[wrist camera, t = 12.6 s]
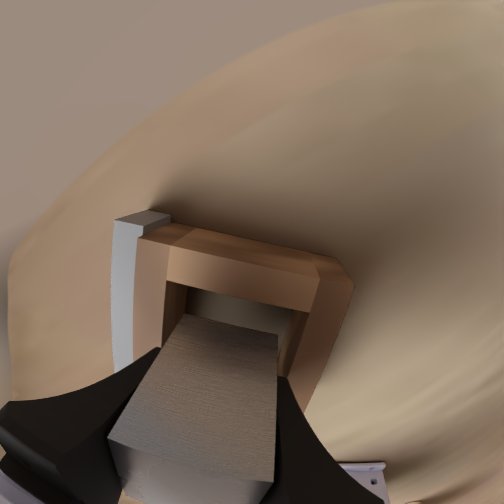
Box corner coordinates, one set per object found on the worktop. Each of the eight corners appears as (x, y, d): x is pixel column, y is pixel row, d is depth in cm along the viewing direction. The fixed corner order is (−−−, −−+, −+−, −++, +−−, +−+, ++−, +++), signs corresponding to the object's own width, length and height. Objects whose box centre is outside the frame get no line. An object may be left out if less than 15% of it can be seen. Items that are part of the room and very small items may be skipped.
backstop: (171, 214, 15) (143, 226, 12) (158, 363, 18) (138, 396, 14) (146, 209, 15) (114, 219, 12) (138, 356, 18) (116, 387, 14)
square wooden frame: (336, 258, 15) (355, 286, 11) (292, 387, 17) (293, 432, 13) (170, 222, 15) (137, 237, 11) (158, 356, 17) (134, 394, 14)
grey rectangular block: (277, 334, 12) (273, 482, 5) (257, 399, 13) (242, 525, 6) (184, 313, 12) (107, 437, 5) (178, 380, 13) (125, 495, 6)
